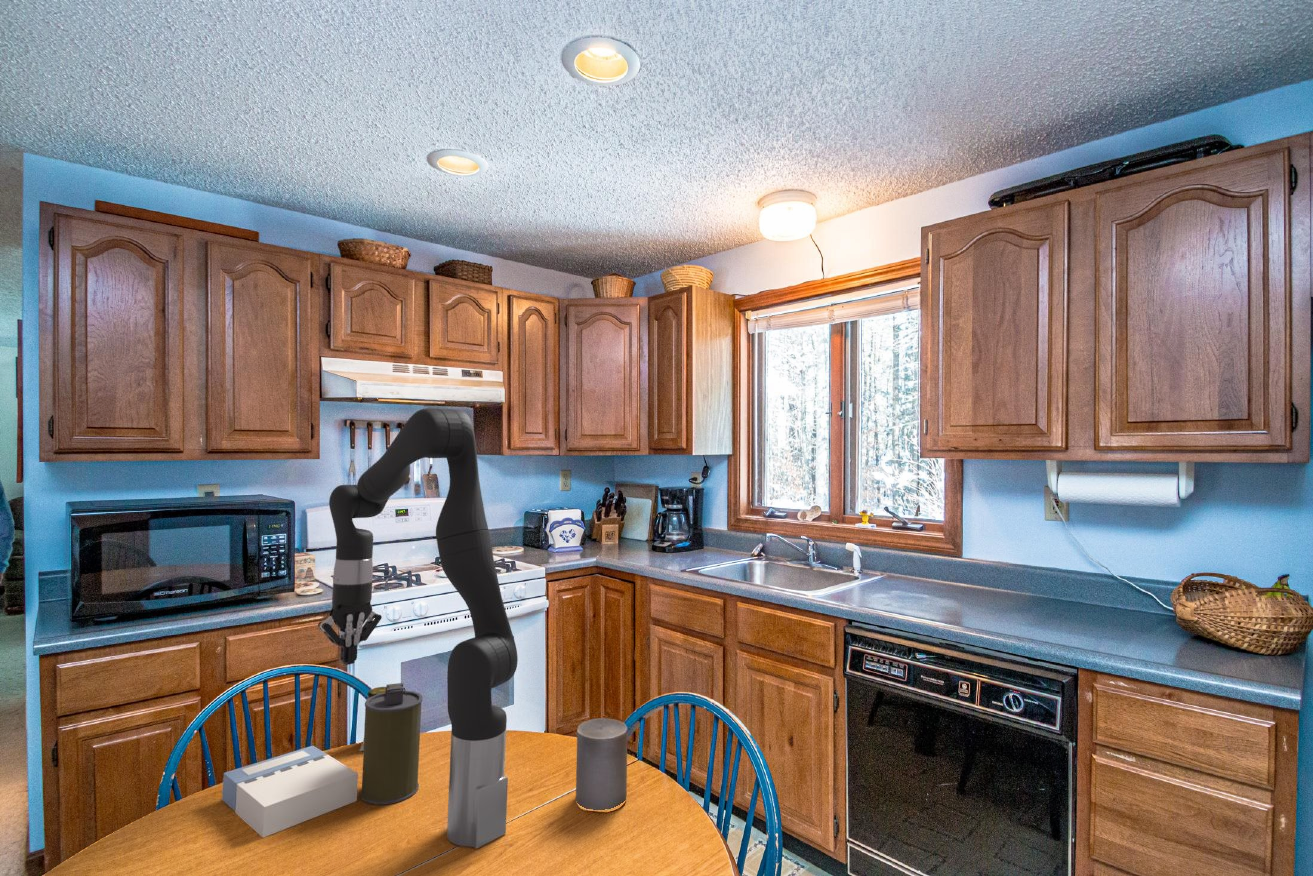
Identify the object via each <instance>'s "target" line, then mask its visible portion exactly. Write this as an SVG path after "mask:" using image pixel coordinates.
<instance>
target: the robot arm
mask: <svg viewBox="0 0 1313 876" xmlns="http://www.w3.org/2000/svg"><path fill="white" fill-rule="evenodd" d="M424 458H426V459H427V458H428V459H446V460H447V465H448V475H449V487H448V492H447V495H446V498H445V500H444V503H443V506H442V508H441V511H440V513H439V516H438V519H437V521H436V527H435V539H436V545H437V550H438V554H439V555H438V556H439V561H440V566H441V569H442V570H443V573H444V574H445V576H446V578H447V579H448V581H449V582H450V583H451V585H452V586H453V587H454V589H455V591H457V593H458V594H459V595H460V597H461V598H462V599H463V601H464V603H465V604H466V606H467V609H468V611H469V614H470V617H471V621H472V626H473V632H474V637H472V638H469V639H465V640H462V641H461V642H458V643H457V644H456V645H455V646H454V647H453V648H452V651H451V653H450V654H449V658H448V663H447V675H446V679H447V682H446V685H447V690H446V691H447V692H446V693H447V712H448V717H449V720H450V723H451V732H450V733H451V734H450V757H449V775H448V776H449V779H448V798H447V799H448V800H447V802H448V803H447V823H446V824H447V826H446V827H447V828H446V838H447V839H448V840H449V842H450V843H452V844H455V845H457V846H461V847H471V848H474V849H479V848H481V847H483V846H485V845H486V844H488V843H490V842H493V841H494V840H496V839H498V838H500V837H502V836H504V835H505V834H506V833H507V814H508V813H507V810H508V809H507V808H508V807H507V806H508V782H509V781H508V779H509V778H508V777H507V776H505V769H506V768H505V766H506V765H505V764H506V763H505V762H506V745H507V744H506V743H507V742H506V740H507V739H506V738H507V721H508V719H507V713H506V710H505V709H503V708H502V707H500V706H498V705H493V703H492V702H493V701H492V700H493V699H492V689H493V688H496V687H498V686H501V685H503V684H505V683H507V682H508V681H510V680H511V679H512V678H513V676H514V675H515V673H516V672H517V667H518V657H519V656H518V651H517V646H516V645H517V644H516V641H515V638H514V634H513V631H512V627H511V624H510V621H509V618H508V614H507V611H506V607H505V604H504V601H503V597H502V592H501V587H500V582H499V578H498V575H497V569H496V564H495V560H494V554H493V553H494V552H493V547H492V540H491V535H490V531H489V525H488V521H487V518H486V514H485V508H484V500H483V497H482V489H481V484H480V475H479V465H478V454H477V443H476V436H475V430H474V426H473V423H472V419H471V418H470V416H469V415H468V414H467V413H466V412H465V411H463V410H461V409H454V408H453V409H452V408H433V407H432V408H429V407H428V408H422V409H419V410H417V411H416V412H414V413H413V414H412V415H411V416H410V417H409V418H408V420H407V421H406V422H405V423H404V425H403V426H402V427H401V429H400V431H399V432H398V434H397V435H396V436H395V437H394V439H393V441H392V442H391V444H390V445H389V446H388V447H387V450H385V452H384V454H383V455H382V456H381V457H380V458H379V459H378V460H377V461H375V462H374V463H373V464H372V465H371V466H370V467H369V468H368V469H366V471H364V472H363V473H362V474H361V475H360V477H359V478H358V480H357V483H356V484H339V485H338V486H336V487H335V488H334V489H333V490H332V492H331V494H330V496H329V500H328V506H329V510H330V515H331V518H332V522H333V527H334V532H335V537H336V538H335V539H336V546H335V547H336V548H335V561H334V567H333V574H332V595H331V606H332V607H331V610H330V611H329V615H328V617H327V618H326V619H324V621H319V622H318V624H317V626H318V628H319V629H320V630H321V632H322V633H323V634H324V635H325V636H326V638H327V639H328V640H329V641H330V642H331V643H332V644H334V645H336V646H339V647H340V656H339V657H340V661H341V662H342V664H343V665H346V666H348V665H353V664H355V661H356V660H357V659H358V646H359V644H360V643H361V642H366V641H367V640H368V639H369V637H370V635H372V632H373V631H374V630H375V628H376V627H377V626H378V624H379V623H380V621H381V619H382V615H380V614H378V613H376V612H375V611H373V606H372V604H371V603H372V602H371V601H372V597H373V596H372V595H373V594H372V593H373V576H374V575H373V574H374V563H373V553H374V552H373V551H374V550H373V549H374V534H373V532H372V531H371V530H367V529H363V528H358V527H356V526H355V524H354V521H353V519H367V518H375V517H376V516H378V515H380V514H382V512H383V511H384V509H385V507H386V505H387V503H388V500H389V499H390V497H392V496H393V495H395V494H396V493H397V491H399V490H401V488H403V486H404V485H405V484H406V483H407V481H408V480H409V477H410V474H411V465H412V464H413V463H415V462H418V461H419V460H421V459H424ZM335 626H336V627H337V628H338V633H337V632H336V631H335V629H334V628H335ZM338 634H339V635H338Z"/></svg>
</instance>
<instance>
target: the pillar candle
mask: <svg viewBox="0 0 1313 876" xmlns="http://www.w3.org/2000/svg"><path fill="white" fill-rule="evenodd" d="M576 731H577V733H576V770H575V771H576V775H575V777H576V779H575V802H576V801H577V803H578V804H579V805H580V806H582V807H584V808H586V809H593V810H605V809H611V808H614V807H616V806H618V805H620V804H621V803H623V802H624V801H625V800H626V801H627V799H626V797H627V794H628V791H627V788H628V782H627V781H628V776H627V775H628V726H627V725H626V724H625V723H624V722H623V721H621V720H619V719H613V718H605V717H604V718H600V717H599V718H592V719H588V720H585V721H583V722H581V723H580V724H579V725H578V726H577V730H576Z"/></svg>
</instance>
